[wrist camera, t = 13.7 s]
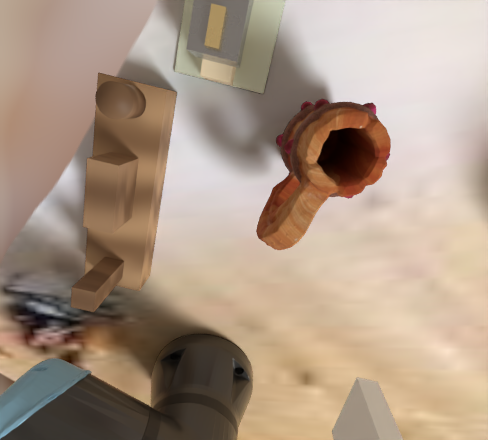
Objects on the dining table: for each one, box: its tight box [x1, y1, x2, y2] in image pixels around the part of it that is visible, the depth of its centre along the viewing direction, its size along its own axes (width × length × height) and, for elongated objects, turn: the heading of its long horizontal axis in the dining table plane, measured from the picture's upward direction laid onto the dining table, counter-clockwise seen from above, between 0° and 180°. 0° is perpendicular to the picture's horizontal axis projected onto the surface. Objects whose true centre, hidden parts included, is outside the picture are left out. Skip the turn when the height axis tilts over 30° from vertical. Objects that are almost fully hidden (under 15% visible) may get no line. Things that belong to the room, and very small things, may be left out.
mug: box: [256, 99, 390, 250], centre depth 30 cm, size 15×8×15 cm, turn 144°
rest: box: [175, 0, 285, 94], centre depth 31 cm, size 10×10×4 cm
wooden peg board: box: [71, 73, 177, 312], centre depth 34 cm, size 24×7×11 cm, turn 167°
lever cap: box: [186, 0, 254, 68], centre depth 27 cm, size 7×4×5 cm, turn 167°
